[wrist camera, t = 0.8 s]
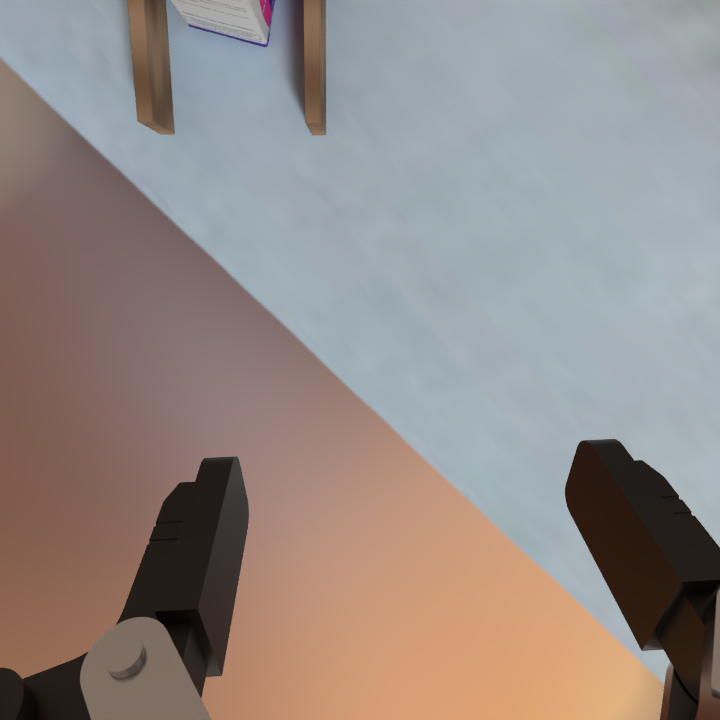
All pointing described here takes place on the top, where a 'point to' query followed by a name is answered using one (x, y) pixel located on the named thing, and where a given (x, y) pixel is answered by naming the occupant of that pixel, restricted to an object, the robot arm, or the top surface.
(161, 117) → the channel
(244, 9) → the supplement box
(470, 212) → the top surface
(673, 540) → the robot arm
